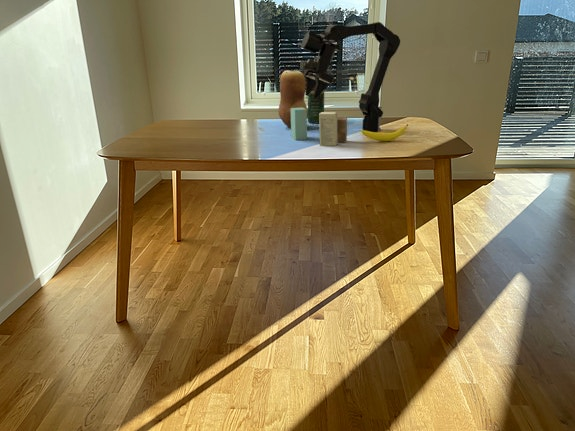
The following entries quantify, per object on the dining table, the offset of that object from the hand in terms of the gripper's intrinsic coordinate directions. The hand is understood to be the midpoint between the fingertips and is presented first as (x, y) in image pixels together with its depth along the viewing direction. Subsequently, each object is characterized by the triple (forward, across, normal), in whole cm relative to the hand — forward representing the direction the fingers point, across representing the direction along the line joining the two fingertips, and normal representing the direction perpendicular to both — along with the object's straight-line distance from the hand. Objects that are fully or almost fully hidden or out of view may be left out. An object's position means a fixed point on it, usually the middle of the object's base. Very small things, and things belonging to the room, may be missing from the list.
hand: (310, 96), depth 170 cm
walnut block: (+12, +14, +13) cm, 22 cm away
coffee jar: (+10, -29, +19) cm, 36 cm away
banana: (+6, +20, +27) cm, 35 cm away
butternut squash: (+15, -21, +6) cm, 27 cm away
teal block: (+17, +1, +1) cm, 17 cm away
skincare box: (+15, +16, +8) cm, 23 cm away
